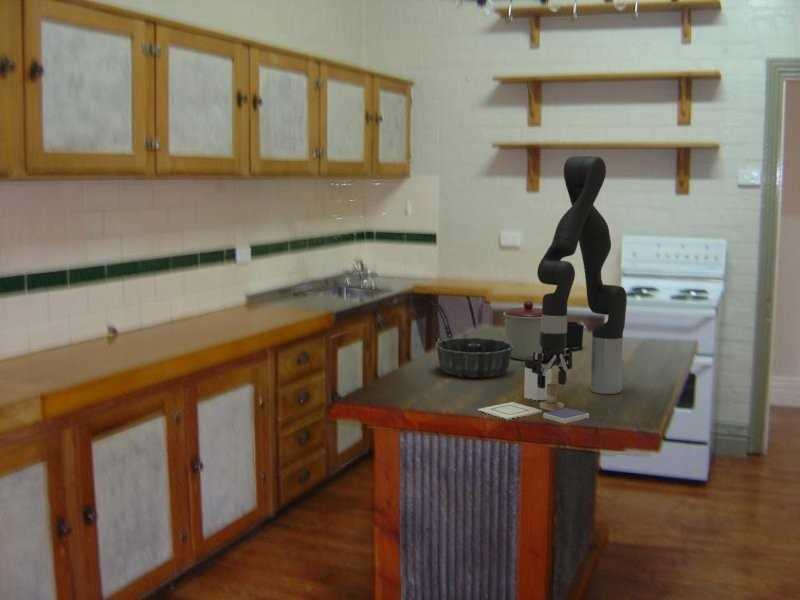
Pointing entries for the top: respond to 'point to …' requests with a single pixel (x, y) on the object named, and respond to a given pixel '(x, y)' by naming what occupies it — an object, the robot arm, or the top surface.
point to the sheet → (510, 410)
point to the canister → (523, 330)
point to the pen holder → (574, 336)
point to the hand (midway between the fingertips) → (551, 386)
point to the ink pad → (565, 415)
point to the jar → (535, 382)
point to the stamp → (551, 399)
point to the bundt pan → (474, 356)
